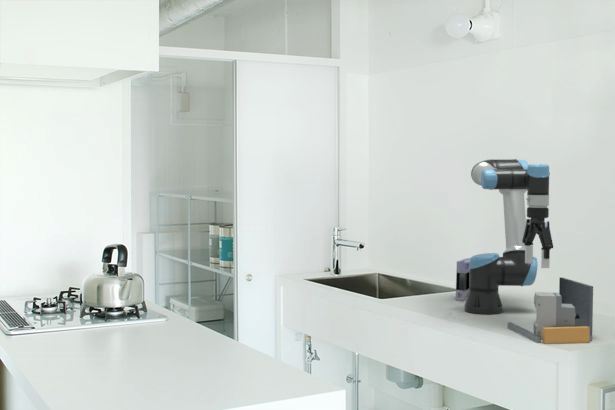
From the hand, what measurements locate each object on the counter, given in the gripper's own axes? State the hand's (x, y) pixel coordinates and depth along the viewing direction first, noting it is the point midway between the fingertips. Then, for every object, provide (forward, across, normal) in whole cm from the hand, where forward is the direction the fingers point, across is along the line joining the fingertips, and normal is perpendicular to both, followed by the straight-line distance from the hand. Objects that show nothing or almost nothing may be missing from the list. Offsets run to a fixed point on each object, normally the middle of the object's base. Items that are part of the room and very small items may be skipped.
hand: (536, 265), depth 278 cm
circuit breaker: (+23, +16, 0) cm, 28 cm away
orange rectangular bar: (+23, +23, 0) cm, 32 cm away
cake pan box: (+24, -67, -2) cm, 71 cm away
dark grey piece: (+23, +10, 0) cm, 25 cm away
